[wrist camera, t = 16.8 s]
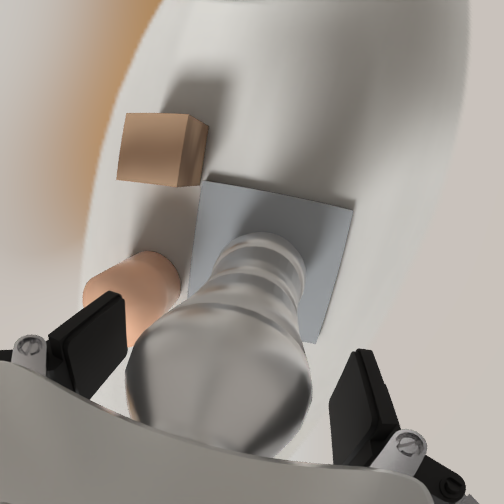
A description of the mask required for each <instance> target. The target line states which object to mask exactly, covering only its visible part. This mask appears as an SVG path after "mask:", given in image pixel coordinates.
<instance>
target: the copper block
mask: <svg viewBox="0 0 504 504" xmlns="http://www.w3.org/2000/svg"><path fill="white" fill-rule="evenodd" d="M208 130H209V126H207V125H206V124H204V123H202V122H201V121H199V120H197V119H196V118H194V117H192V116H191V115H189V114H172V113H126V118H125V124H124V129H123V135H122V141H121V148H120V155H119V162H118V170H117V179H116V180H123V181H132V182H140V183H149V184H157V185H164V186H172V187H184V186H197V185H200V179H201V172H202V166H203V159H204V153H205V147H206V141H207V135H208Z"/></svg>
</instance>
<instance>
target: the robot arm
mask: <svg viewBox="0 0 504 504" xmlns="http://www.w3.org/2000/svg"><path fill="white" fill-rule="evenodd" d="M48 337H49V340H47V341H45V340H44V339H43V338H42V337H40V336H37V335H26V336H23V337H21V338H19V339H18V340H17V341H16V342H15V344H14V348H13V350H0V504H479V503H478V502H477V501H476V500H475V499H474V498H473V497H472V496H471V495H470V494H469V495H468V496H466V495H465V490H466V485H465V482H464V480H463V479H462V477H461V476H459V475H458V474H457V473H455V472H453V471H451V470H450V469H448V468H446V467H445V466H443V465H441V464H440V463H438V462H436V461H435V460H433V459H431V458H430V457H428V456H427V455H425V454H426V451H427V443H426V441H425V439H424V438H423V437H422V435H420V434H419V433H417V432H416V431H413V430H409V429H402V430H401V428H400V425H399V422H398V419H397V416H396V413H395V410H394V407H393V404H392V401H391V398H390V395H389V392H388V389H387V387H386V385H385V384H384V381H383V379H382V376H381V373H380V370H379V368H378V365H377V362H376V360H375V357H374V354H373V352H372V350H366V349H357V350H356V352H354V351H353V352H352V353H351V355H350V357H349V359H348V362H347V364H346V366H345V368H344V370H343V373H342V375H341V377H340V379H339V381H338V383H337V386H336V388H335V390H334V392H333V394H332V396H331V398H330V401H329V415H330V425H331V437H332V449H333V465H331V464H317V463H307V462H298V461H289V460H282V459H275V458H268V457H262V456H256V455H251V454H246V453H241V452H236V451H232V450H227V449H223V448H219V447H215V446H211V445H207V444H203V443H200V442H196V441H193V440H189V439H186V438H183V437H180V436H176V435H173V434H170V433H167V432H164V431H162V430H159V429H156V428H153V427H150V426H148V425H145V424H143V423H140V422H137V421H135V420H132V419H130V418H128V417H125V416H123V415H121V414H118V413H116V412H114V411H112V410H109V409H107V408H105V407H103V406H101V405H99V404H97V403H95V402H93V401H91V400H90V399H91V397H92V396H93V395H94V394H95V393H96V391H97V390H98V389H99V388H100V387H101V385H102V384H103V383H104V382H105V381H106V379H107V378H108V377H109V376H110V375H111V373H112V372H113V371H114V370H115V369H116V367H117V366H118V365H119V364H120V363H121V362H122V360H123V359H124V358H125V357H126V355H127V351H128V347H127V333H126V312H125V300H124V299H123V298H122V295H121V294H119V293H116V292H113V291H107V292H105V293H104V294H103V295H101V296H100V297H98V298H97V299H96V300H94V301H93V302H91V303H90V304H89V305H87V306H86V307H85V308H83V309H82V310H81V311H79V312H78V313H76V314H75V315H74V316H72V317H71V318H70V319H69V320H67V321H66V322H65V323H63V324H62V325H60V326H59V327H58V328H57V329H55V330H54V331H53V332H51V333H50V334H49V335H48Z"/></svg>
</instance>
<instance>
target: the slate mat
mask: <svg viewBox="0 0 504 504" xmlns="http://www.w3.org/2000/svg"><path fill="white" fill-rule="evenodd" d="M352 214H353V210H350V209H346V208H342V207H338V206H333V205H329V204H325V203H320V202H316V201H311V200H307V199H302V198H297V197H293V196H288V195H283V194H278V193H273V192H268V191H263V190H257V189H252V188H246V187H241V186H235V185H229V184H223V183H217V182H211V181H202V188H201V194H200V200H199V207H198V214H197V221H196V228H195V236H194V244H193V252H192V260H191V269H190V278H189V287H188V297H187V299H188V298H190V297H191V296H193V295H194V294H195V293H196V292H197V291H198V290H199V289H200V288H201V287H202V286H203V285H204V284H205V283H206V282H207V281H208V279H209V277H210V276H211V274H212V270H213V267H214V264H215V262H216V260H217V258H218V256H219V254H220V252H221V251H222V250H223V249H224V247H225V246H226V245H227V244H229V243H230V242H231V241H232V240H234V239H236V238H238V237H240V236H242V235H246V234H249V233H256V232H267V233H272V234H276V235H279V236H281V237H282V238H284V239H286V240H287V241H288V242H290V243H291V244H292V245H293V246H294V247H295V248H296V250H297V251H298V252H299V253H300V255H301V257H302V259H303V261H304V264H305V268H306V284H305V288H304V292H303V295H302V297H301V299H300V302H299V304H298V309H297V316H298V326H299V333H300V337H301V340H302V342H307V343H313V344H316V342H317V339H318V336H319V333H320V330H321V327H322V324H323V321H324V317H325V314H326V311H327V308H328V305H329V301H330V298H331V295H332V291H333V288H334V284H335V281H336V277H337V274H338V270H339V267H340V263H341V259H342V255H343V252H344V248H345V244H346V240H347V236H348V232H349V227H350V223H351V219H352Z"/></svg>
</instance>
